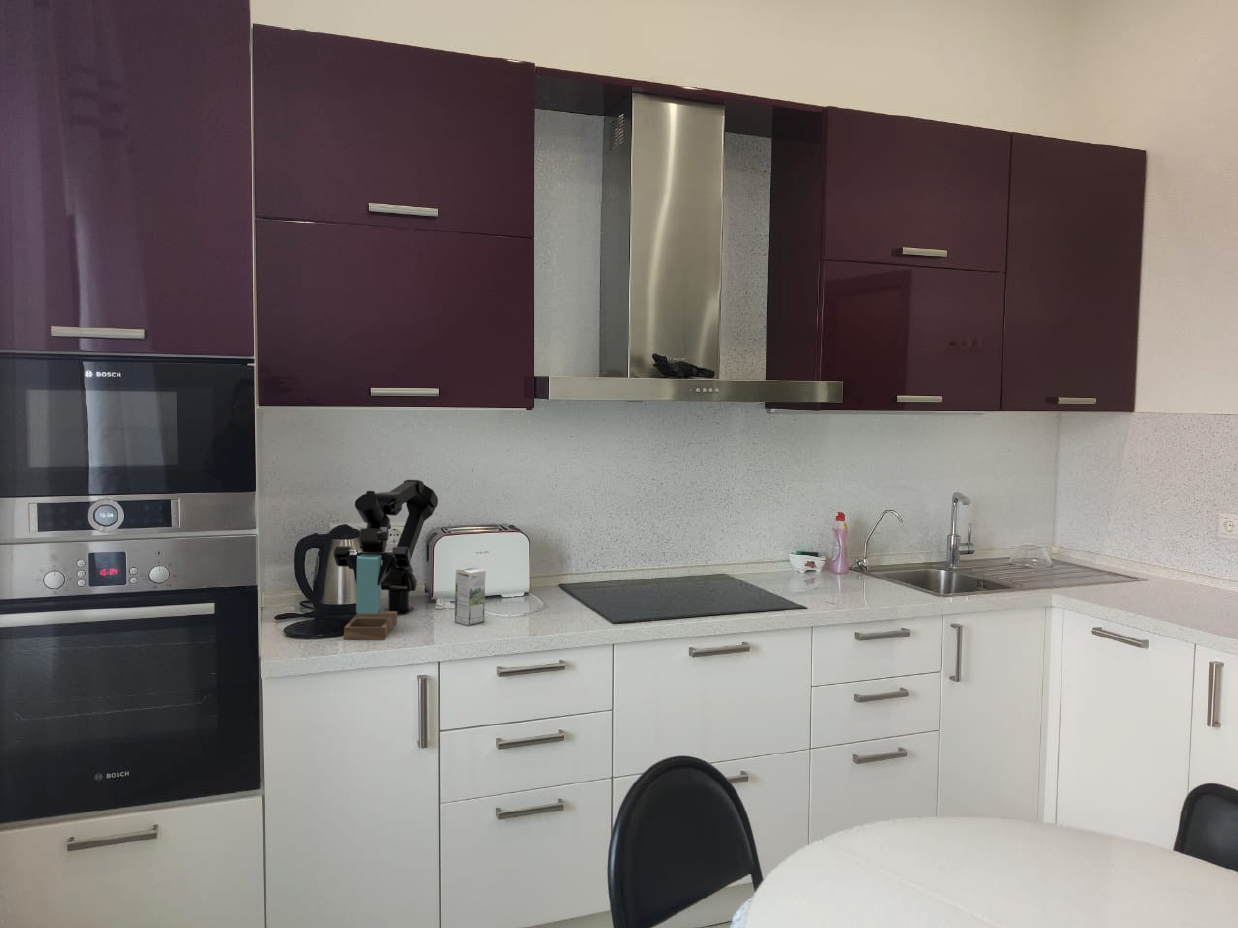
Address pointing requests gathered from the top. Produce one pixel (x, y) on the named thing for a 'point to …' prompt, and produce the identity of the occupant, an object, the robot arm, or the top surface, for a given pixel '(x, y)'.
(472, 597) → the syrup box
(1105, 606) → the top surface
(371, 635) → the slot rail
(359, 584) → the teal peg block
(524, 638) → the top surface
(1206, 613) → the top surface
